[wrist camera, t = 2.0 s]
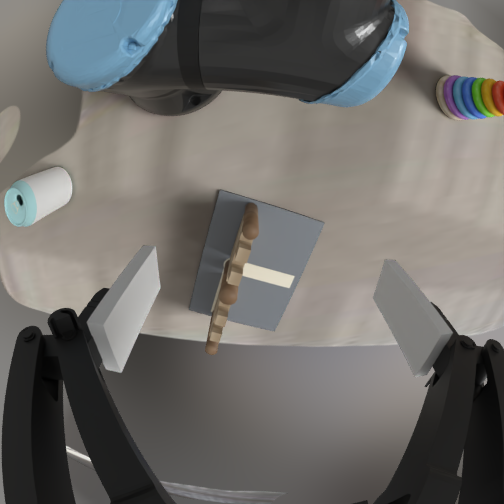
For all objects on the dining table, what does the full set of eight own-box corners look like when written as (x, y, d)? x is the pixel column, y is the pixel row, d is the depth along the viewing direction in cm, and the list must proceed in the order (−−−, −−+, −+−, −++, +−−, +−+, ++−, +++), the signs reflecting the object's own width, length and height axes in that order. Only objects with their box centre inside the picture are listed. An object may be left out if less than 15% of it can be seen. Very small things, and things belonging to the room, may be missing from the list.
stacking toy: (461, 128, 32) (542, 146, 15) (429, 106, 31) (516, 111, 14) (468, 91, 28) (546, 96, 11) (437, 67, 28) (518, 58, 11)
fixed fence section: (210, 312, 47) (202, 352, 39) (227, 255, 42) (220, 291, 34) (223, 316, 48) (217, 356, 39) (242, 260, 43) (239, 296, 34)
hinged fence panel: (229, 256, 42) (223, 289, 33) (247, 201, 38) (245, 222, 30) (240, 259, 42) (237, 293, 34) (259, 204, 38) (261, 227, 30)
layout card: (189, 308, 47) (188, 310, 47) (220, 189, 38) (219, 190, 37) (274, 329, 49) (274, 331, 49) (323, 222, 40) (324, 223, 39)
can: (48, 162, 35) (1, 179, 24) (76, 170, 36) (29, 188, 25) (45, 200, 38) (2, 224, 27) (72, 209, 39) (29, 236, 28)
